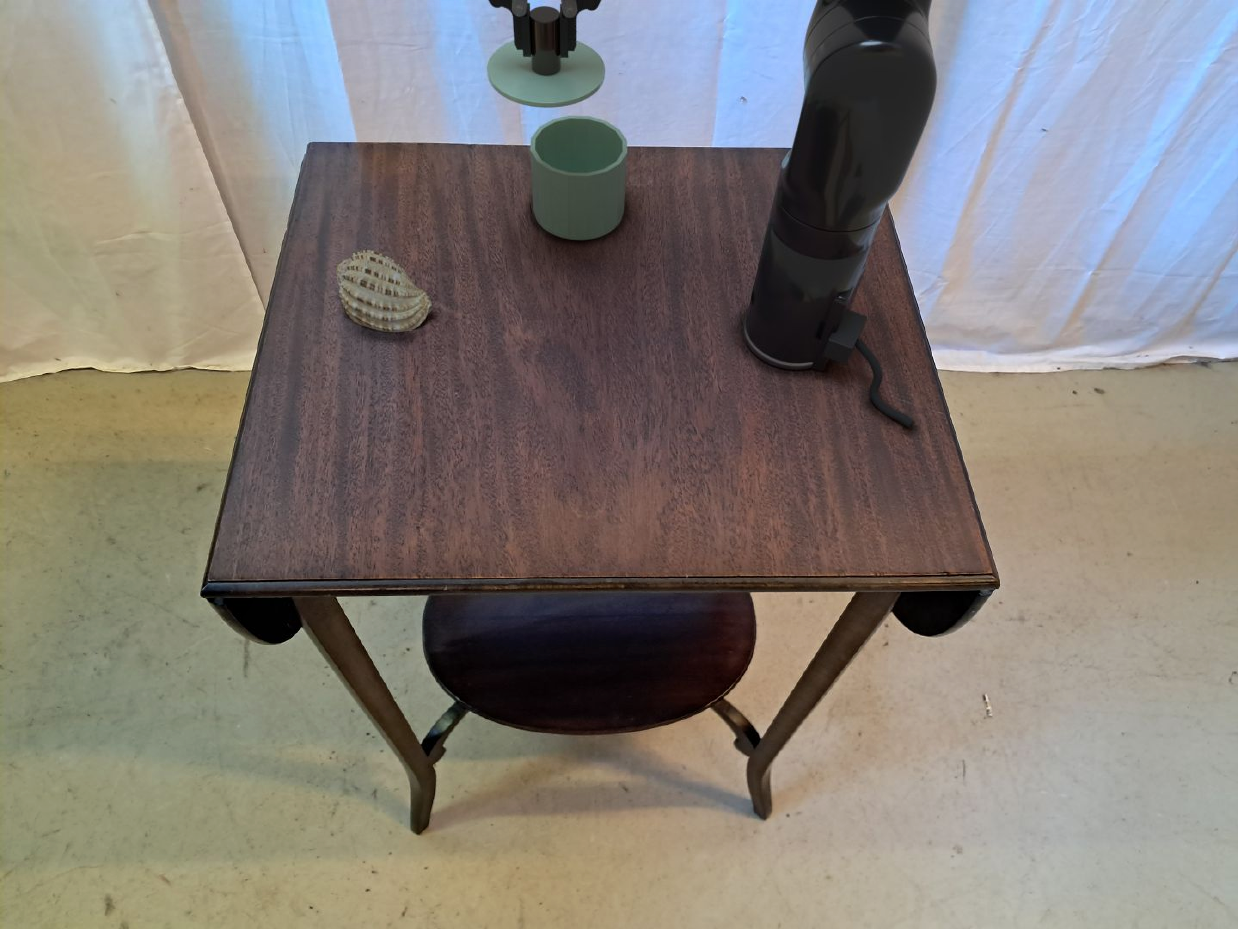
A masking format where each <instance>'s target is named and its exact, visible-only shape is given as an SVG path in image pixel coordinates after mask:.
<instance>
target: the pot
mask: <svg viewBox="0 0 1238 929" xmlns="http://www.w3.org/2000/svg"><path fill="white" fill-rule="evenodd" d="M529 152H530V153H529V155H530V171H531V172H530V174H531V194H532V195H531V196H532V210H533V211H532V212H533V215H534V218H535V220H536V222H537V223H538V224H539V226H540V227H542V229H544V230H545V231H546V232H548V233H550V235H554V236H556V237H559V238H561V239H566V240H571V241H588V240H594V239H597V238H598V239H599V238H601V237H604V236H606V235H608V234H610V233H611V232H612V231H613V230H615V229H616V228H617V227H618V226H619V225H620V223H621V221H622V219H623V216H624V214H625V202H626V201H625V200H626V199H625V198H626V184H627V182H626V181H627V166H628V165H627V164H628V140H627V138H626V137H625V135H624V134H623V132H622V131H621V129H620V128H618V127H616V126H615V125H613V124H611V123H610V122H609V121H606V120H604V119H601V118H597V117H593V116H589V115H566V116H561V117H557V118H553V119H551V120H549V121H547V122H545V123H544V124H542V125H540V126H539V127H538V128H537V129H536V130H535V132H534V133H533V134H532V135H531V137H530V147H529Z"/></svg>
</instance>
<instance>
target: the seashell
mask: <svg viewBox="0 0 1238 929" xmlns="http://www.w3.org/2000/svg"><path fill="white" fill-rule="evenodd" d="M335 267H336V282H337V286H338V289H339V291H338V293H339V299H340V302H341V304H342V306H343V309H344V312H345V313H346V315H347V316H348V317H349V318H350V319H351V320H352V322H354V323H355V324H357V325H358V326H363V327H367V328H369V329H372V330H376V331H378V332H384V333H385V332H386V333H403V332H411V333H413V330H414V329H416V328H417V327H420V326H421V324H422V323H423V322H424V321H425V320H426V318H427V316H428V315H429V314H430V313H431V312H432V311H433V310H434V305H433V302H432V301H431V300H432V298H431V297H430V296H429V295H428V292H426V291H424V289H421V287H417V286H416V285H415V283H414V281H413V280H412V279H411V278H410V277H409V275H408V272H406V270H405V269H404V268H403V267H402V266H401V264H399V263H398V262H397V261H395V260H394V259H392V258H391V257H389V256H387V255H385V254H382V253H380V252H377V251H374V250H369V249H364V250H359V251H357V252H353V254H352V256H351V257H349V258H348V259H343V260H342V262H340V263H339V264H335Z"/></svg>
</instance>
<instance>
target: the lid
mask: <svg viewBox="0 0 1238 929" xmlns="http://www.w3.org/2000/svg"><path fill="white" fill-rule="evenodd" d="M530 36H531V57H523V50H517V49H516V46H515V44H514V40H511V41H510V42H507V43H505V44H503V45H501V46H500V47H499V48H497V49H496V50H495V51H494V52H493V53H492V54H491V55H490V57H489V59H488V62H487V66H486V73H487V80H488V81H489V84H490V86H491V87H492V88H493V90H494V91H495V92H497V93H498V94H499V95H500V96H502V97H503V98H505V99H507V100H509V101H511V102H513V103H516V104H519V105H523V106H527V107H528V106H529V107H534V108H542V109H543V108H547V109H549V108H551V109H552V108H562V107H568V106H571V105H575V104H578V103H581V102H583V101H586V100H587V99H590V97H592V96H594V95H595V94H596V93H597V92H598V91H599V90H600V89H601V88H602V86H603V84H604V82H605V78H606V66H605V62H604V60H603V58H602V56H601V55H600V54H599V53H598V52H597V51H596V49H593V47H591V46H589V45H588V44H586V43H584V42H581V41H579V40H576V48H575V50H574V51H568V58H560V10H559V9H557V8H555V7H553V6H547V5H541V6H536V7H534V8H532V9H530Z"/></svg>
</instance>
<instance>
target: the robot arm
mask: <svg viewBox="0 0 1238 929" xmlns="http://www.w3.org/2000/svg"><path fill="white" fill-rule="evenodd" d="M487 1H488V3H489V4H490V6H492V7H493V8H495V9H499V8H505V9H506V10H508V11H509V12H510V13H511V16H512V27H513V41H514V44H515V46H516V49H517V50H523V57H531V36H530V11H531V2H529V1H528V0H487ZM601 2H602V0H560V4H559V12H560V58H568V51H574V50H575V48H576V41H577V19H578V16H579V14H580V13H581V12H583V11H586V10H587V11H590V12H594V11H595V10H597V9H598V8H599V6H600V5H601ZM932 2H933V0H816V2H815V5H814V8H813V11H812V14H811V16H810V19H809V22H808V25H807V28H806V32H805V35H804V41H803V48H802V72H803V87H804V88H803V90H804V94H803V100H802V104H801V108H800V114H799V118H798V122H797V126H796V130H795V135H794V137H793V142H792V146H791V149H789V151H788V152H787V154H786V155H785V156H784V158H783V159H782V162H781V165H780V169H779V173H778V178H777V181H776V187H775V191H774V195H773V200H772V204H771V208H770V212H769V217H768V221H767V226H766V231H765V234H764V238H763V243H762V248H761V251H760V256H759V260H758V264H757V270H756V273H755V276H754V278H753V280H752V281H753V282H751V283H752V284H751V287H752V288H751V290H750V292H751V293H750V294H749V300H748V306H747V310H746V314H745V317H744V321H743V325H742V334H743V338H744V341H745V343H746V345H747V346H748V348H749V349H750V351H751V352H752V353H753V354H754V355H755V356H756V357H758V358H759V359H760V360H762V361H763V362H765V363H767V364H769V365H771V366H774V367H777V368H780V369H785V370H790V371H791V370H794V371H800V370H807V369H808V370H809V369H813V370H816V371H819V372H823V371H824V370H825V367H826V365H827V364H828V362H829V360H833V361H834V362H838V363H839V364H843V365H845V366H846V365H847V364H848V363H849V359H850V358H851V356H852V354H853V352H854V351H855V350H854V349H855V348H856V349H857V350H858V352H859V353H860V354H861V356H863V357H864V358H865V360H866V361H867V363H868V364H869V366H870V367H871V368H870V369H871V370H872V375H873V377H872V381H871V382H870V383H871V384H870V386H869V397H870V399H871V401H872V403H873V405H874V406H875V407H876V408H877V410H879V411H880V413H882V414H884V415H885V416H887V417H888V418H890V419H892V420H895V421H896V422H898V423H900V424H902V425H904V426H905V427H906V428H908V429H909V428H911V427H912V425H913V424H914V423H915V420H914V419H913V418H911V417H909V416H907V415H906V414H904V413H902V412H901V411H899V410H896V409H894V408H892V407H891V406H889V405H888V404H887V403H886V402H885V401H884V400H883V399H882V397H881V395H880V392H879V391H880V386H881V385H882V382H883V377H884V376H883V374H884V373H883V370H882V366H881V364H880V362H879V360H878V358H877V357H876V356H875V354H874V353H873V352H872V351H871V349H870V348H869V346H867V344H865V342H864V341H863V339H862V338H860V337H861V335H862V333H863V330H864V328H865V326H866V323H867V320H868V317H869V316H867V315H864V314H862V313H859V312H857V311H854V310H851V309H852V307H853V303H854V301H855V298H856V296H857V293H858V290H859V288H860V285H861V282H862V280H863V277H864V273H865V271H866V268H867V262H866V260H867V259H868V255H869V252H870V249H871V247H872V245H873V242H874V238H875V236H876V233H877V231H878V228H879V225H880V222H881V219H882V216H883V213H884V211H885V208H886V205H887V203H888V202H890V200H891V199H892V198H893V197H894V196H896V195H895V194H896V193H897V192H898V191H899V189H900V188H901V186H902V184H903V182H904V180H905V177H906V175H907V173H908V170H909V168H910V165H911V163H912V161H913V158H914V156H915V153H916V151H917V149H918V146H919V144H920V142H921V139H922V136H923V134H924V131H925V129H926V126H927V124H928V121H929V119H930V115H931V113H932V109H933V106H934V103H935V98H936V94H937V89H938V71H937V64H936V60H935V55H934V51H933V46H932V41H931V38H930V30H929V23H930V22H929V20H930V18H929V17H930V13H931V7H932V4H933V3H932Z"/></svg>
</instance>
